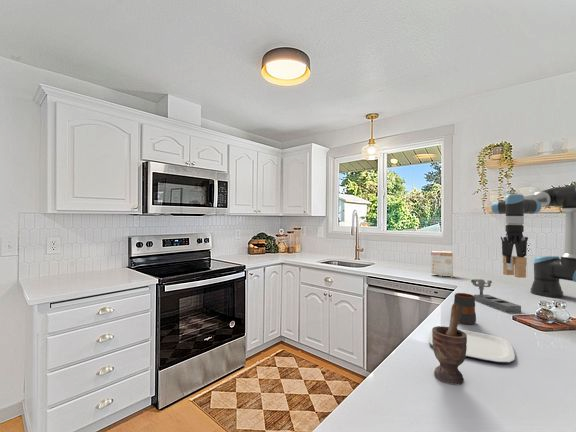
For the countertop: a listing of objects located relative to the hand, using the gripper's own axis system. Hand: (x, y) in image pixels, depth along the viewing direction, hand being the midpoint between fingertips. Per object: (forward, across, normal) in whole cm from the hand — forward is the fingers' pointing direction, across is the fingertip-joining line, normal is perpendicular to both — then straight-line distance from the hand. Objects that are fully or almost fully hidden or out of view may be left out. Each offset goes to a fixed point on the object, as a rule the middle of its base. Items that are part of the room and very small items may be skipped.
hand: (514, 269), depth 154 cm
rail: (+19, +7, -3) cm, 21 cm away
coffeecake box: (+19, -15, -84) cm, 87 cm away
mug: (+20, +40, +17) cm, 48 cm away
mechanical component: (+19, +2, -20) cm, 28 cm away
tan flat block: (+3, 0, 0) cm, 3 cm away
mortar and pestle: (+21, +76, +61) cm, 100 cm away
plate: (+21, +56, +42) cm, 73 cm away
